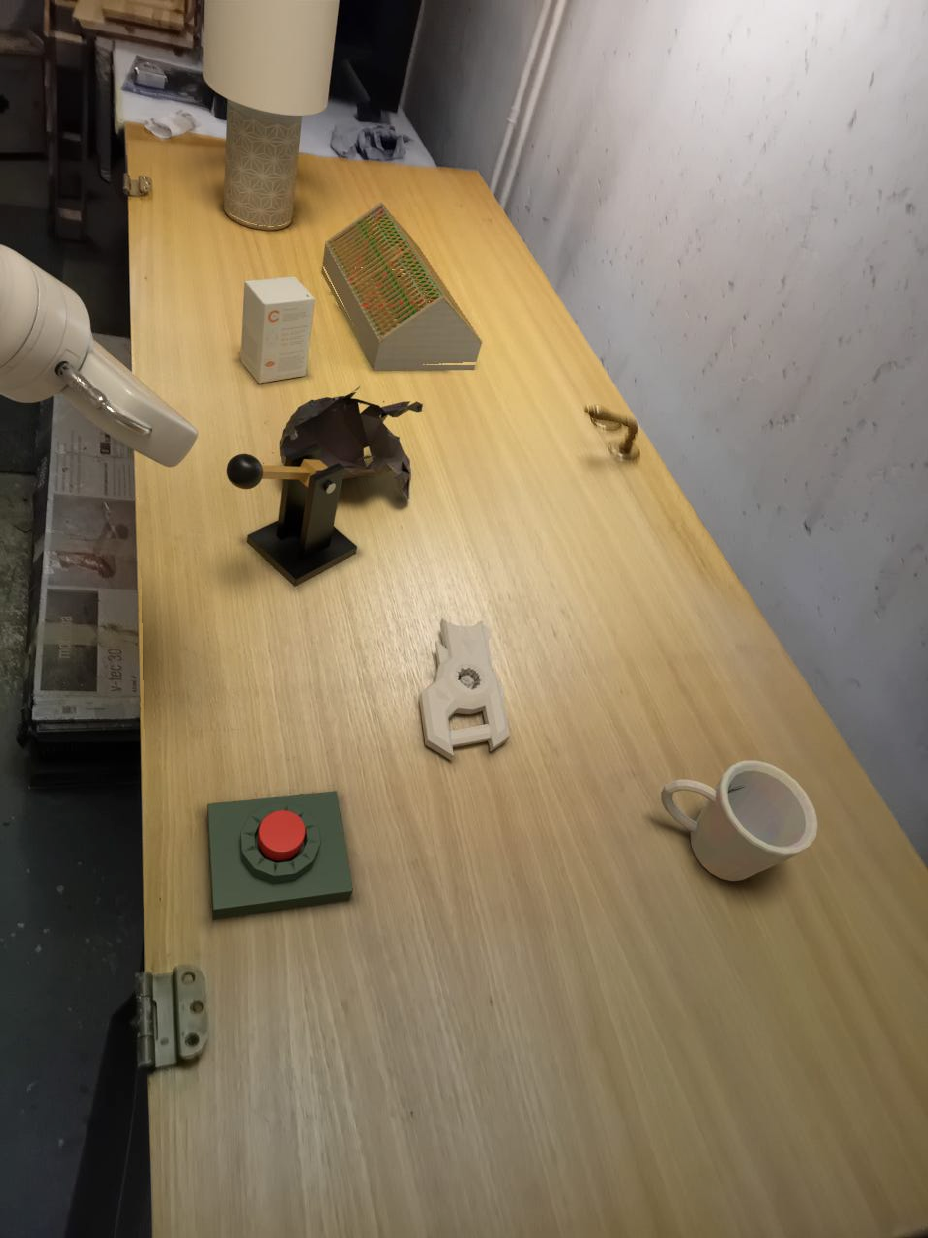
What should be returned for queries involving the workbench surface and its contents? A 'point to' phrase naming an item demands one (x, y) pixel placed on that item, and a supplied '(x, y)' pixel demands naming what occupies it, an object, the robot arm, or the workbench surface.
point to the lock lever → (267, 471)
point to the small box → (276, 328)
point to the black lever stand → (305, 523)
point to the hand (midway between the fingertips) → (152, 407)
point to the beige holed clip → (463, 691)
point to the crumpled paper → (350, 436)
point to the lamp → (267, 95)
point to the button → (281, 835)
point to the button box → (272, 884)
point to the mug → (746, 819)
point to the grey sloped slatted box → (396, 298)
